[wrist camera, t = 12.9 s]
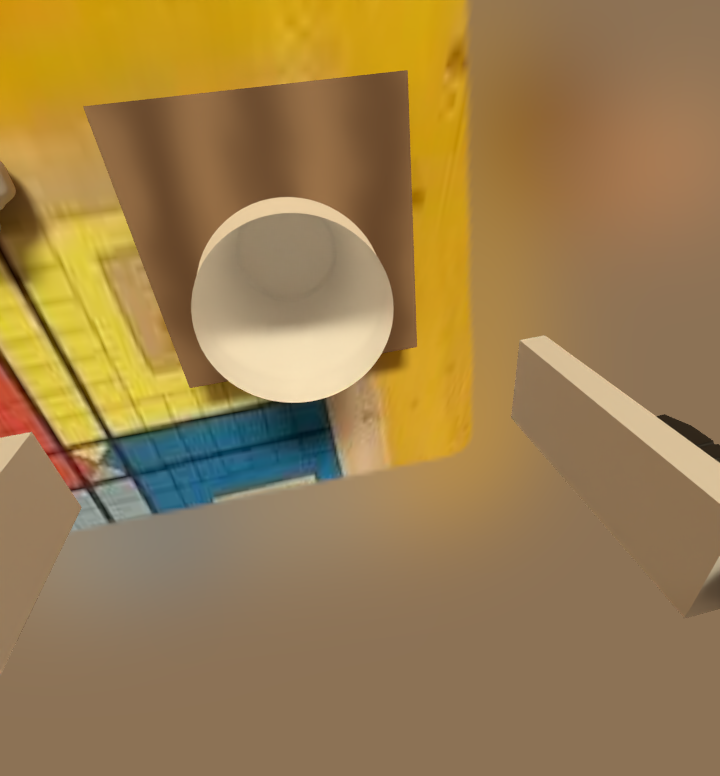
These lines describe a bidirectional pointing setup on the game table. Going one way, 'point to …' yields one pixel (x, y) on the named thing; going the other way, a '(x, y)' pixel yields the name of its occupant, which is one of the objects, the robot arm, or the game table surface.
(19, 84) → the game table surface
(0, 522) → the robot arm
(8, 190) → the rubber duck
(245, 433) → the game table surface
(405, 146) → the walnut base
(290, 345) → the cup
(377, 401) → the game table surface
